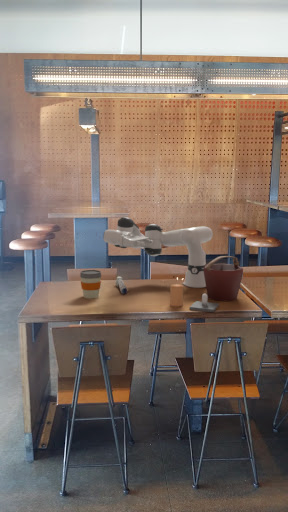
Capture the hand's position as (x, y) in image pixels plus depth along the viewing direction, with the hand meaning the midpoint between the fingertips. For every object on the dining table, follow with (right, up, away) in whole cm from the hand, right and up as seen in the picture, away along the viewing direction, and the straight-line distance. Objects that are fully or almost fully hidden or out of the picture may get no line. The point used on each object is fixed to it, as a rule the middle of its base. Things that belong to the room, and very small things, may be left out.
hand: (148, 243), depth 257 cm
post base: (+31, -36, -10) cm, 48 cm away
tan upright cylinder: (+16, -35, -4) cm, 38 cm away
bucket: (+45, -32, +11) cm, 56 cm away
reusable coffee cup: (-34, -32, +13) cm, 48 cm away
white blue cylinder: (-17, -29, +32) cm, 46 cm away
